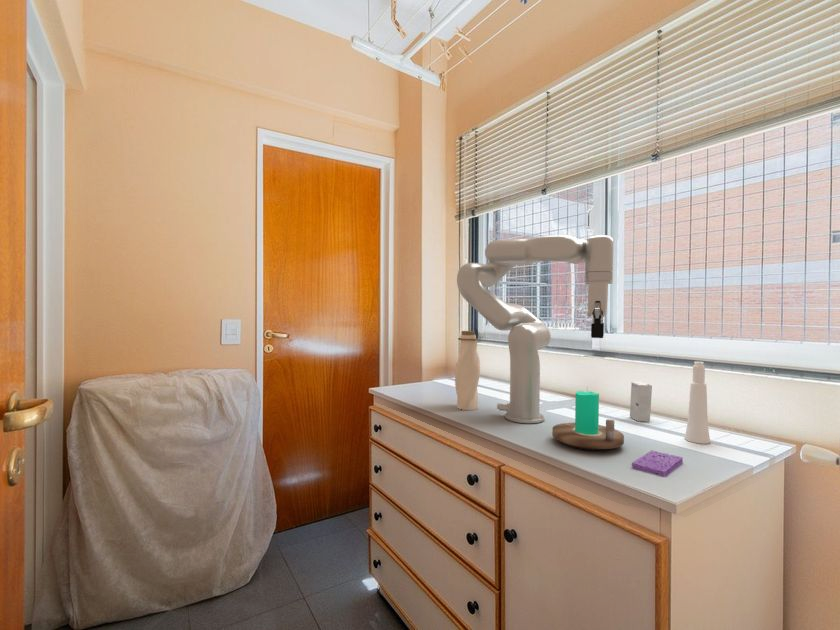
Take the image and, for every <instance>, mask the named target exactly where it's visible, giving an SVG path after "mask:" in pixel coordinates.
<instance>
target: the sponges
mask: <svg viewBox="0 0 840 630" xmlns="http://www.w3.org/2000/svg"><path fill="white" fill-rule="evenodd" d="M683 462H684V461H683V456H680V455H679V456H678V455H674V454H669V453H664V452H660V451H656V450H652V449H651V450H649V451H648V452H647V453H645V454H643V455H642V456H640V457H638V458H637V459H636V460H634V461H632V462H631V467H632V468H633V469H634V468H635V470H638V471H641V472H642V471H643V472H646V473H649V472H650V474H654V475H657V476H660V475H661V477H664V476H665V477H666V476H668V475H669V474H670V473H671V472H673V471H675V469H677V468H678V467H679V466H681V465H682V464H683ZM676 467H677V468H676Z"/></svg>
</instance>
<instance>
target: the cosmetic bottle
mask: <svg viewBox="0 0 840 630" xmlns="http://www.w3.org/2000/svg"><path fill="white" fill-rule="evenodd" d="M693 364H694V365H692V381H691V382H690V387H689V402H688V411H687V412H688V414H687V415H688V416H687V422H686V423H687V425H686V430H685V435H684V439H685V440H686V441H688V442H690V443H695V444H700V445H706V444H710V443H711V438H710V430H709V419H708V416H709V415H708V391H707V389H708V388H707V383H706V382H705V379H706V378H705V377H706V370H705V369H706V366H705V365H704V361H694V362H693Z"/></svg>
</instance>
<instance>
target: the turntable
mask: <svg viewBox="0 0 840 630" xmlns="http://www.w3.org/2000/svg"><path fill="white" fill-rule="evenodd" d="M551 428H552V432H551V433H552V437H553V438H554V439H555V440H557V441H558V442H561V443H564V444H565V443H566V444H565V445H567V444H569V445H573V446H578V447H584V448H592V449H607V450H610V449H615V448H620V447H621V446H623V445H624V443H625V435H624V434H623V433H622V432H621V431H619V430H616V429H615V419H608V418H607V419H605V426H604V425H598V434H595V435H588V434H582V433H578V432H576V431H575V422H564V423H558V424H555V425H554V426H553V427H551ZM569 445H568V446H569Z"/></svg>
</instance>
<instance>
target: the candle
mask: <svg viewBox="0 0 840 630" xmlns="http://www.w3.org/2000/svg"><path fill="white" fill-rule="evenodd" d="M588 390H589V389H588V387H586V391H584V390H578V391H575V405H574V406H575V407H574V408H575V411H574V412H575V415H574V418H575V419H574V423H575V431H576V432H578V433H582V434H588V435H595V434H598V425H599V424H600V423H599V422H600V421H599V414H600V413H599V412H600V410H599V409H600V404H599V403H600V394H599V393H595V392H593V391H588Z"/></svg>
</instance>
